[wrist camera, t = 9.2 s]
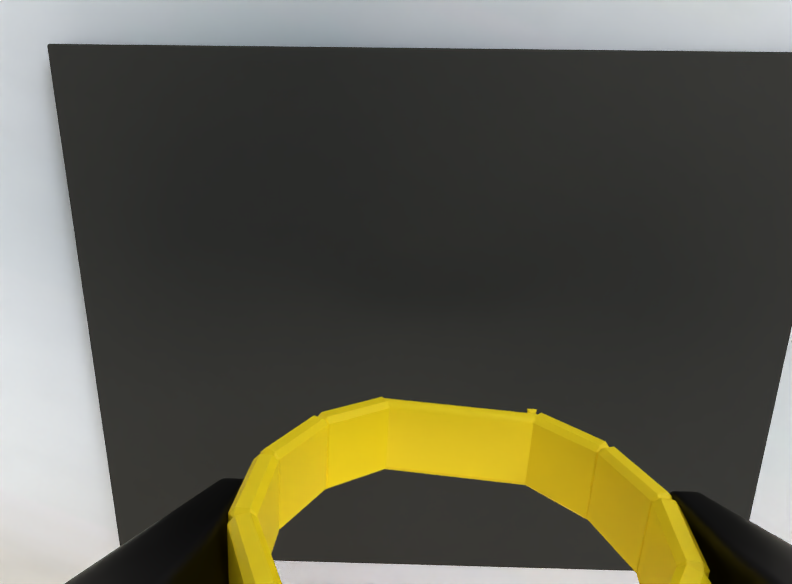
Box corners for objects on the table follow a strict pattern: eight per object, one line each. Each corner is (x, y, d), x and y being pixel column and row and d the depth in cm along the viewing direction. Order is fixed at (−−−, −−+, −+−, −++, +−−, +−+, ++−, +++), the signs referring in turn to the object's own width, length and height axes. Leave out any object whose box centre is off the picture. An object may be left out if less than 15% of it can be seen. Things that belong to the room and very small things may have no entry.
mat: (833, 55, 13) (852, 52, 13) (727, 559, 17) (738, 574, 17) (61, 47, 14) (46, 43, 13) (130, 542, 18) (120, 556, 17)
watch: (623, 374, 10) (893, 693, 4) (598, 508, 11) (800, 924, 5) (284, 353, 10) (125, 641, 5) (284, 488, 11) (147, 878, 5)
